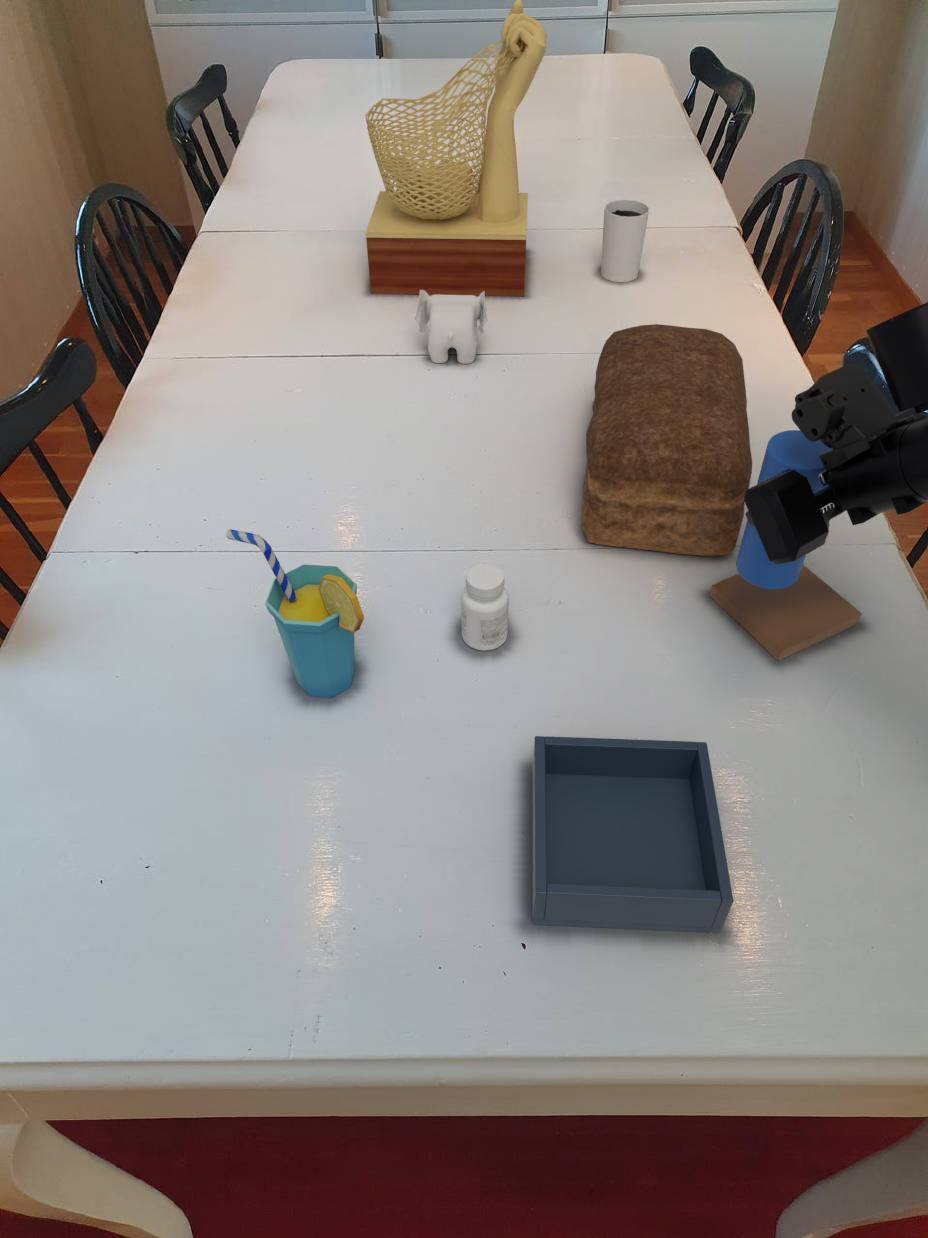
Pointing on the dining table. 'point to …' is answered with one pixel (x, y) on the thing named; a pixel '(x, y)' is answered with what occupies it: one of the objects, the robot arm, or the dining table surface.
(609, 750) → the tray
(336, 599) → the cup
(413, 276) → the net sculpture trophy
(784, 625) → the trivet
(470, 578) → the pill bottle
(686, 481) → the bread
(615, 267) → the white cylindrical pot
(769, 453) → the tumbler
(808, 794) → the dining table surface
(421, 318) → the elephant figurine
